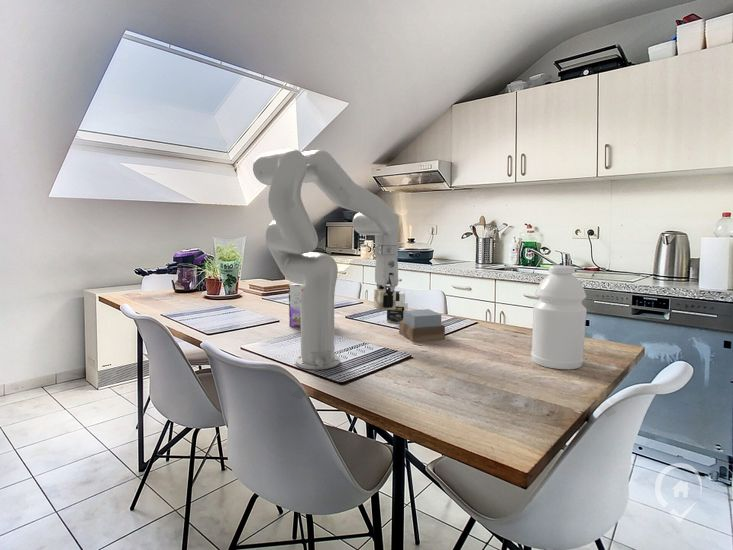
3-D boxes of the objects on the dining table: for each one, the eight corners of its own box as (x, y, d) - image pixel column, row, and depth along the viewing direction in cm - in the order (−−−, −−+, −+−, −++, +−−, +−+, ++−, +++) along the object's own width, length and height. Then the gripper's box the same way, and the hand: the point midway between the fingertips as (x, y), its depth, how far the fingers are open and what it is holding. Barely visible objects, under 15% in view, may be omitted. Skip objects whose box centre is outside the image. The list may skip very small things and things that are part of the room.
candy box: (327, 324, 174) (326, 282, 172) (324, 327, 169) (324, 285, 167) (292, 323, 176) (292, 282, 174) (288, 326, 170) (288, 284, 168)
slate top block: (441, 326, 153) (441, 314, 152) (414, 328, 150) (414, 316, 149) (428, 319, 162) (429, 309, 162) (403, 321, 159) (403, 310, 159)
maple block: (395, 309, 145) (396, 291, 144) (379, 309, 143) (380, 291, 142) (389, 306, 150) (389, 288, 149) (373, 307, 148) (374, 289, 147)
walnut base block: (444, 340, 153) (445, 326, 152) (412, 343, 149) (413, 328, 149) (429, 332, 164) (429, 318, 164) (399, 334, 161) (399, 321, 160)
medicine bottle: (386, 322, 178) (386, 292, 177) (390, 318, 185) (391, 290, 184) (404, 323, 176) (404, 293, 175) (407, 319, 183) (408, 291, 181)
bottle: (551, 372, 120) (557, 269, 117) (520, 357, 133) (525, 264, 130) (594, 367, 124) (601, 268, 120) (560, 353, 137) (565, 263, 134)
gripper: (407, 252, 137) (405, 310, 139) (387, 249, 154) (385, 301, 155) (384, 252, 135) (382, 311, 137) (367, 249, 151) (365, 302, 153)
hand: (384, 305), depth 146 cm, fingers closed on maple block, 5 cm apart
